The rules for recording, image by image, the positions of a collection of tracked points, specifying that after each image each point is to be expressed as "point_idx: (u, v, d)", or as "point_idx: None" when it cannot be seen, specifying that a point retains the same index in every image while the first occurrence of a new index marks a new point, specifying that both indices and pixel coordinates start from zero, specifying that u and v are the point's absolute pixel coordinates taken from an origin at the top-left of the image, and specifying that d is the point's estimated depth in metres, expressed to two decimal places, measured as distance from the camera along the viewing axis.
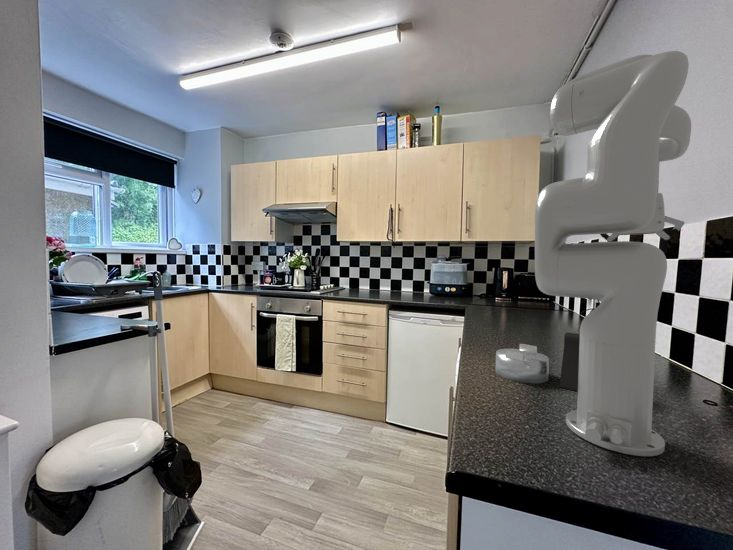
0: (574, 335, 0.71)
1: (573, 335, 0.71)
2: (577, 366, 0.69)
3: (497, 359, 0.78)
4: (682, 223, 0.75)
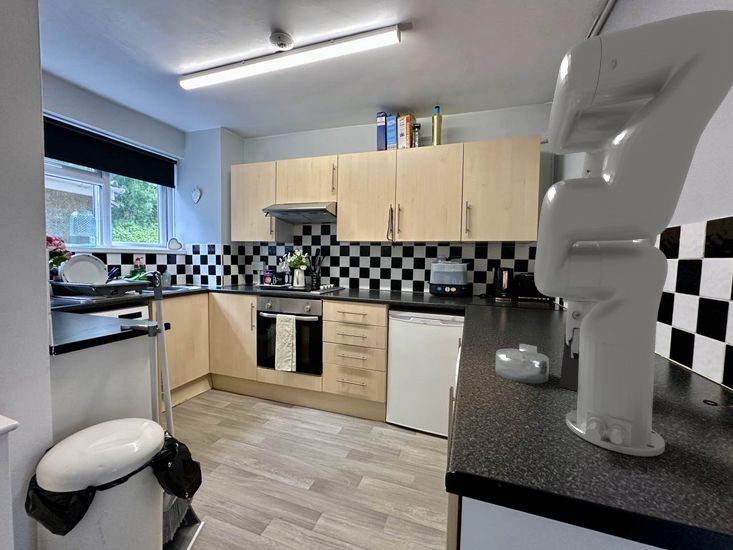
0: None
1: None
2: (577, 366, 0.69)
3: (497, 359, 0.78)
4: None
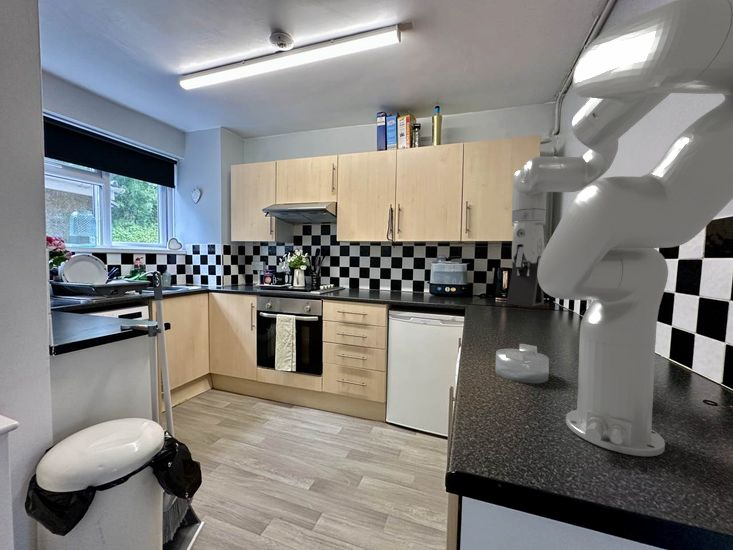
0: None
1: None
2: (522, 283, 0.75)
3: (497, 359, 0.78)
4: None
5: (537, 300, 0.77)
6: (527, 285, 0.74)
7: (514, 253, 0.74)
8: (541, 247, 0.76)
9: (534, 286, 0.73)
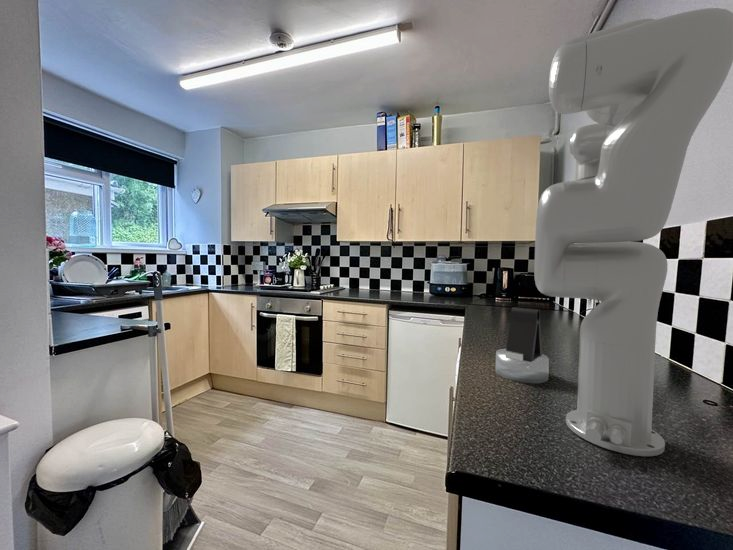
0: (519, 309, 0.77)
1: (518, 309, 0.77)
2: (521, 336, 0.75)
3: (497, 359, 0.78)
4: None
5: (535, 352, 0.78)
6: (526, 339, 0.74)
7: None
8: None
9: (533, 341, 0.73)
